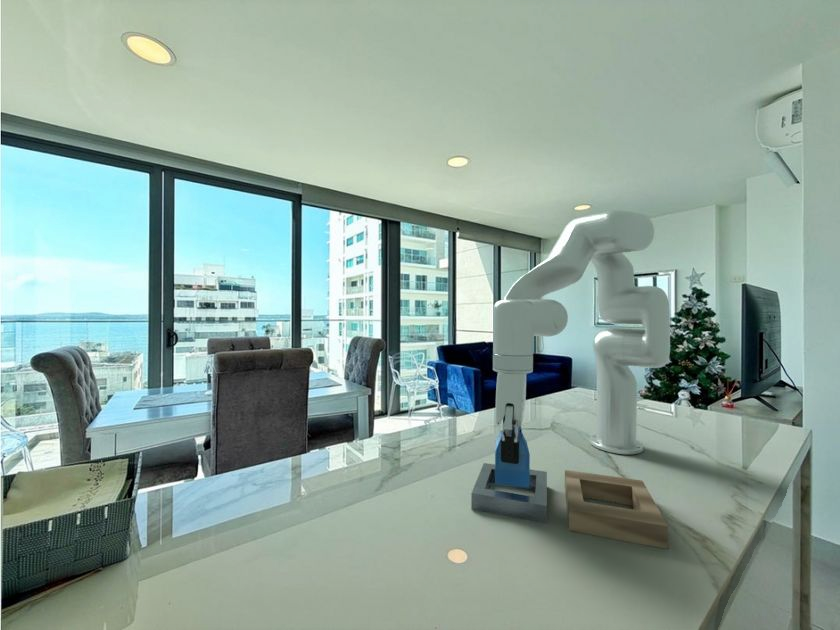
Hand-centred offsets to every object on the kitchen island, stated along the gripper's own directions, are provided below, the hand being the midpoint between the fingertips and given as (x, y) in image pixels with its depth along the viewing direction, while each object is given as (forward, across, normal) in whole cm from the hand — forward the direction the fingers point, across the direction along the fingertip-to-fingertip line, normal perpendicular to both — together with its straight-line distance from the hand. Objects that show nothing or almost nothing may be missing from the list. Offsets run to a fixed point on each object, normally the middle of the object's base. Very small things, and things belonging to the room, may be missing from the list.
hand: (511, 454), depth 72 cm
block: (+8, 0, 0) cm, 8 cm away
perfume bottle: (+5, 0, 0) cm, 5 cm away
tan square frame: (+8, 0, +17) cm, 19 cm away
